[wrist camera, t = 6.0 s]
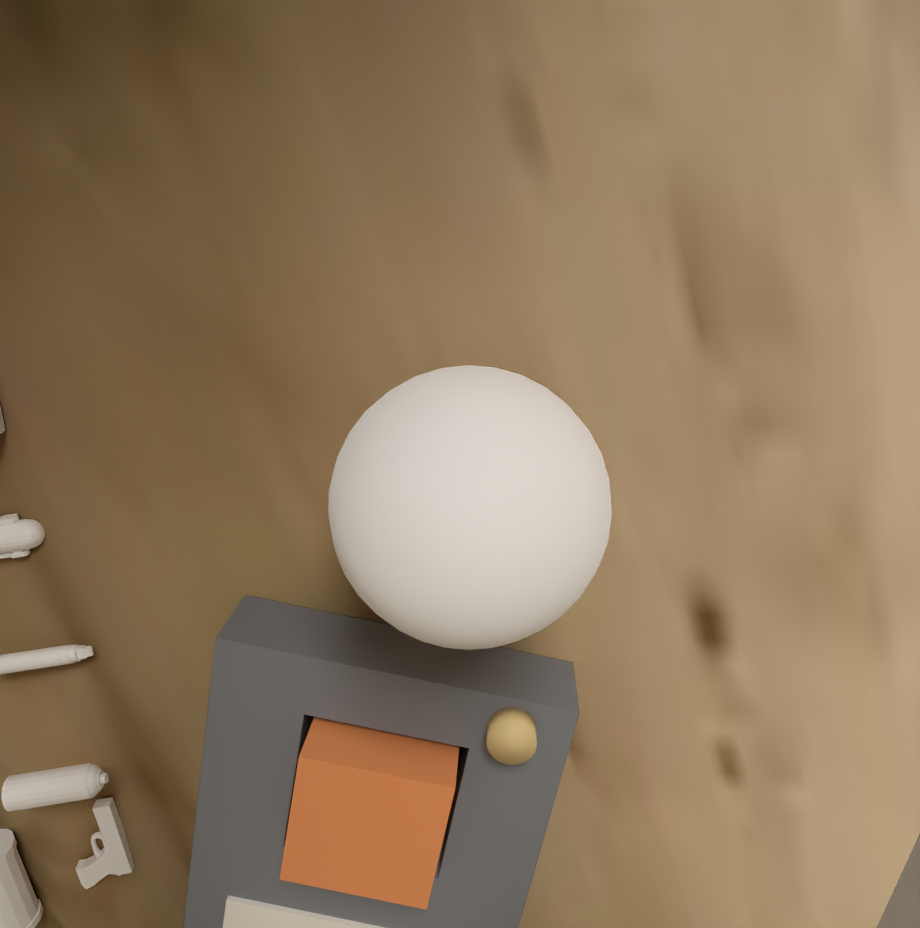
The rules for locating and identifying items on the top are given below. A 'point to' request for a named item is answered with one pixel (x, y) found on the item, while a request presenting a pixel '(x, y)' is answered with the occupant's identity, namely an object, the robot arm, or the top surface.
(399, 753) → the button
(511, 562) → the light bulb
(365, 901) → the breaker board
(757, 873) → the top surface
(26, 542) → the miniature set
